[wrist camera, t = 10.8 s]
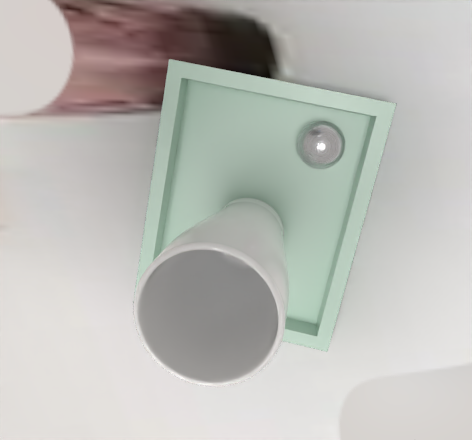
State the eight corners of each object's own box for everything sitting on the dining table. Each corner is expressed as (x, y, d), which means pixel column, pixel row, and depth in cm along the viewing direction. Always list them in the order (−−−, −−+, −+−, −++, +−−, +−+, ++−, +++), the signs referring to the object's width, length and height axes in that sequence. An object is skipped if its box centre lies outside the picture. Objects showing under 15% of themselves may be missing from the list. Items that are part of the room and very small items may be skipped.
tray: (178, 63, 32) (169, 59, 29) (388, 104, 30) (396, 103, 28) (143, 291, 36) (133, 304, 34) (325, 335, 35) (327, 351, 33)
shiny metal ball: (302, 116, 31) (303, 116, 28) (347, 125, 30) (353, 126, 27) (292, 161, 32) (291, 166, 28) (336, 170, 31) (340, 176, 28)
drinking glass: (290, 182, 32) (280, 236, 17) (297, 271, 33) (293, 390, 19) (199, 190, 33) (118, 246, 18) (209, 276, 34) (142, 390, 20)
